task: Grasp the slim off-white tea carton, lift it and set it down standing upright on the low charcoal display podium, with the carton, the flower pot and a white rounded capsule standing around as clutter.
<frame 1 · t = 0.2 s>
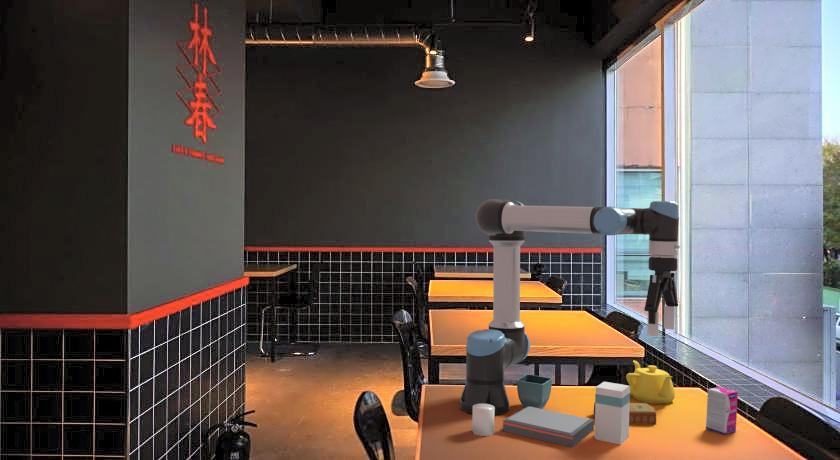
hand: (661, 332, 174), 27 cm above the table, fingers open, 13 cm apart
white rounded capsule: (483, 432, 170), on the table
podium: (548, 430, 172), on the table
teapot: (647, 399, 205), on the table
carton: (624, 421, 183), on the table
flower pot: (534, 408, 193), on the table
tea carton: (611, 438, 167), on the table
supplement box: (721, 431, 175), on the table
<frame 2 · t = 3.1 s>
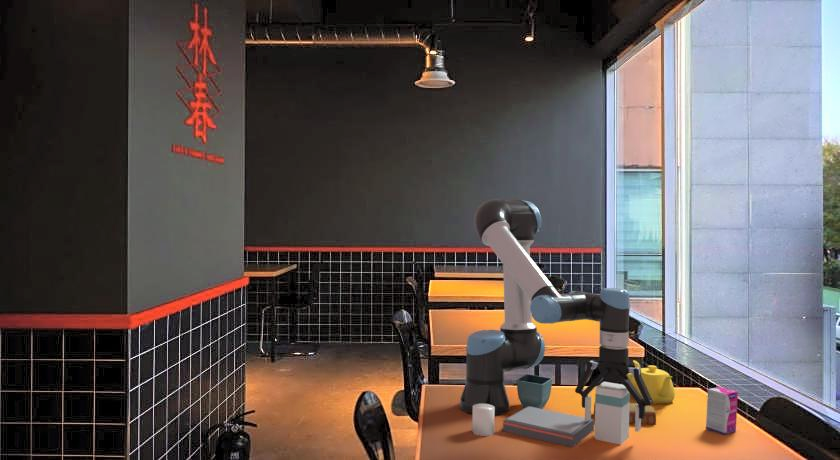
hand: (612, 425, 167), 3 cm above the table, fingers open, 13 cm apart
nothing on the table moved.
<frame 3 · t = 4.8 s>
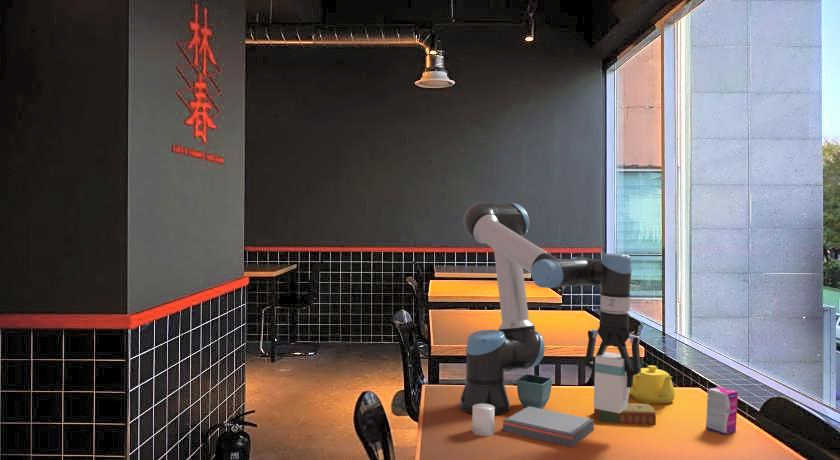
hand: (611, 395, 167), 11 cm above the table, fingers closed on tea carton, 7 cm apart
tea carton: (610, 407, 167), point 8 cm above the table, touching gripper
everything else where it was.
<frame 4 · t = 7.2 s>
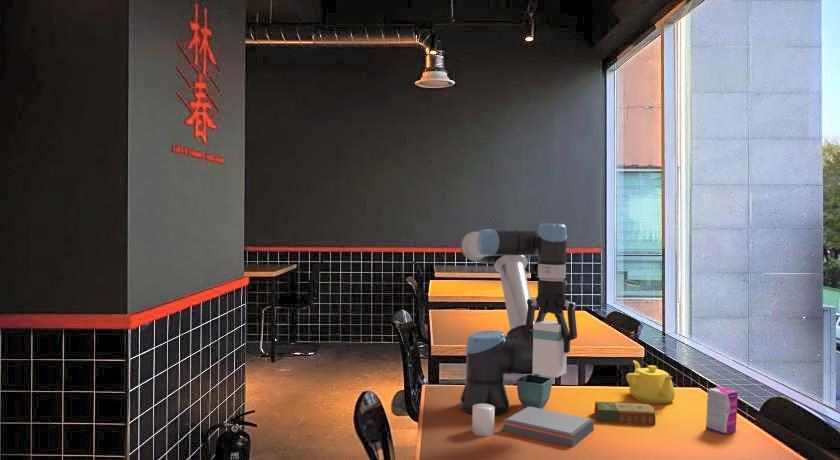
hand: (549, 362, 172), 19 cm above the table, fingers closed on tea carton, 7 cm apart
tea carton: (549, 373, 172), point 16 cm above the table, touching gripper
everything else where it was.
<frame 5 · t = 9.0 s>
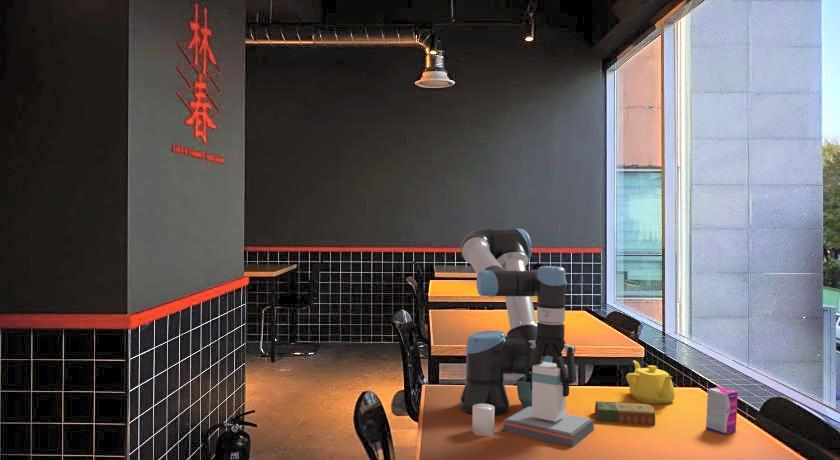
hand: (549, 404, 172), 7 cm above the table, fingers closed on tea carton, 7 cm apart
tea carton: (548, 416, 172), point 4 cm above the table, touching gripper
everything else where it was.
when the fingers open (6 cm above the table, at t = 9.9 s): tea carton stays where it is, resting on podium.
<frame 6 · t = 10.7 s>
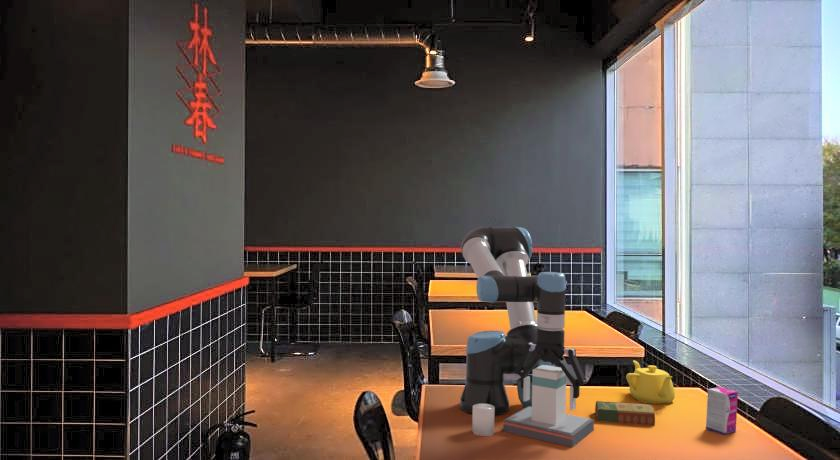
hand: (549, 404, 172), 7 cm above the table, fingers open, 13 cm apart
tea carton: (548, 419, 172), point 3 cm above the table, touching podium
everything else where it was.
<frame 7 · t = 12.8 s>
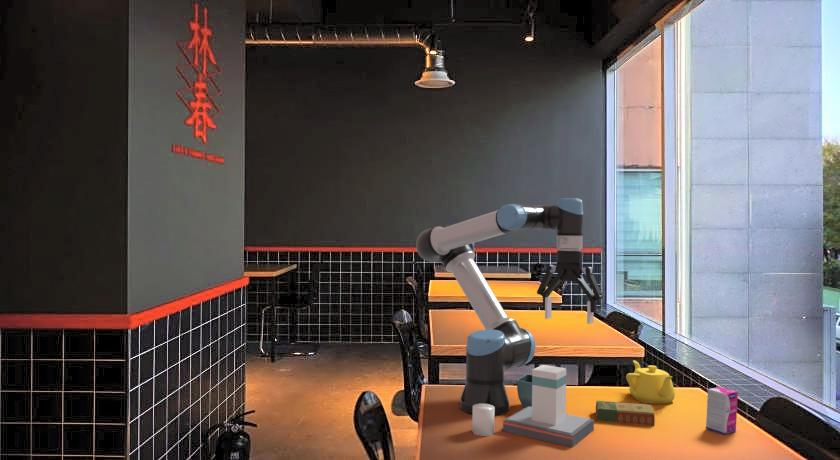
hand: (568, 320, 186), 28 cm above the table, fingers open, 13 cm apart
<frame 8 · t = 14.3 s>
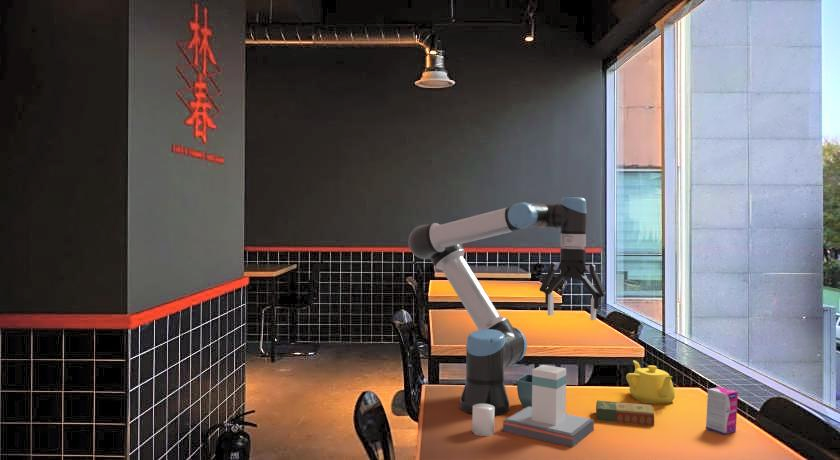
hand: (571, 317, 190), 29 cm above the table, fingers open, 13 cm apart
at the end: tea carton inside the target area on the podium (0.4 cm from its centre), point 3.3 cm above the podium's base; tea carton tilted 0°; the gripper is holding nothing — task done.
